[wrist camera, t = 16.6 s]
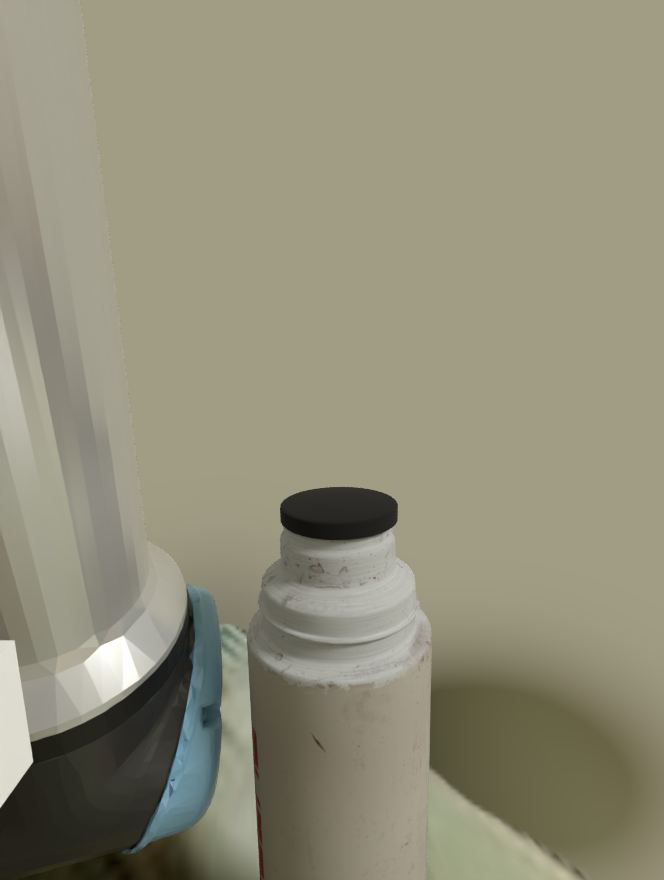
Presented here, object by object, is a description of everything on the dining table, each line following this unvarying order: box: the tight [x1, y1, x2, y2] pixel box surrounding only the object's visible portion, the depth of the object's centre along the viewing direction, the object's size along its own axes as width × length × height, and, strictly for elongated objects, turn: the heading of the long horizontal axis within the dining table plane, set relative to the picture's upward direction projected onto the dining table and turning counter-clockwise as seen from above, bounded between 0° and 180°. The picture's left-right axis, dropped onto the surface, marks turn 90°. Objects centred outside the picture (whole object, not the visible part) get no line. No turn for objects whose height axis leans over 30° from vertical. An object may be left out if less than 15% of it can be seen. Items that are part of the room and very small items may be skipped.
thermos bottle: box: [247, 487, 432, 880], centre depth 24 cm, size 8×8×28 cm
